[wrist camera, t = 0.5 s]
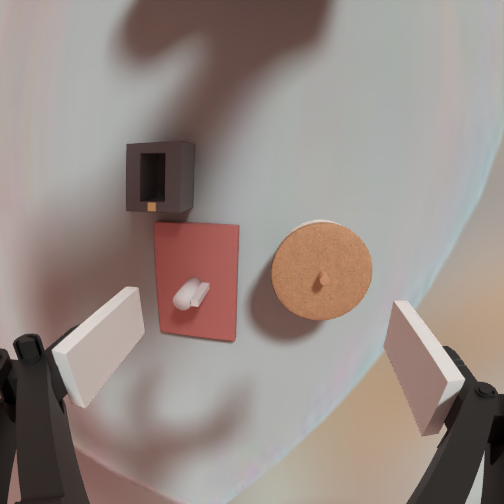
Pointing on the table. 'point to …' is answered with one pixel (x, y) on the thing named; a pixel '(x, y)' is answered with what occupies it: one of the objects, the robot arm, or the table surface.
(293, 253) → the lidded jar
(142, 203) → the hollow frame block
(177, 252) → the plate
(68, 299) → the table surface
